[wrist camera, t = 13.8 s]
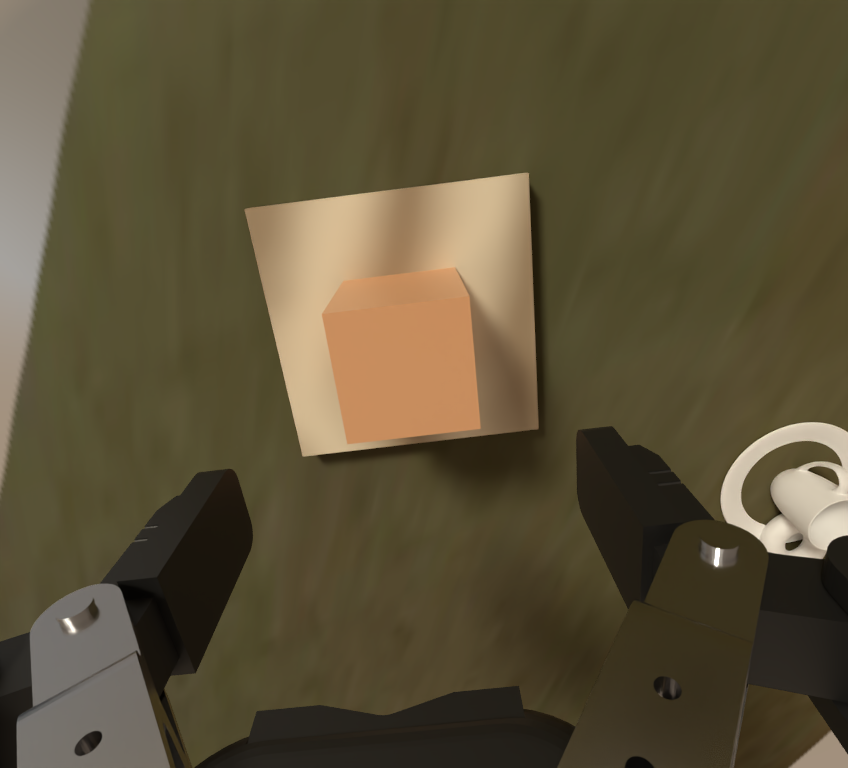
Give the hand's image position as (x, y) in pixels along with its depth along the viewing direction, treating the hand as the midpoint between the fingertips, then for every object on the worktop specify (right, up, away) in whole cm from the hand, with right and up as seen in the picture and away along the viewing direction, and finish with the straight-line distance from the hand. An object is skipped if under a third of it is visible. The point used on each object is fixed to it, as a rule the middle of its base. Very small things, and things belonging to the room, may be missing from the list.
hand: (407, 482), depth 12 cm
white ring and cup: (+19, -5, +18) cm, 26 cm away
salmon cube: (0, +5, +12) cm, 13 cm away
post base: (-1, +5, +13) cm, 14 cm away
